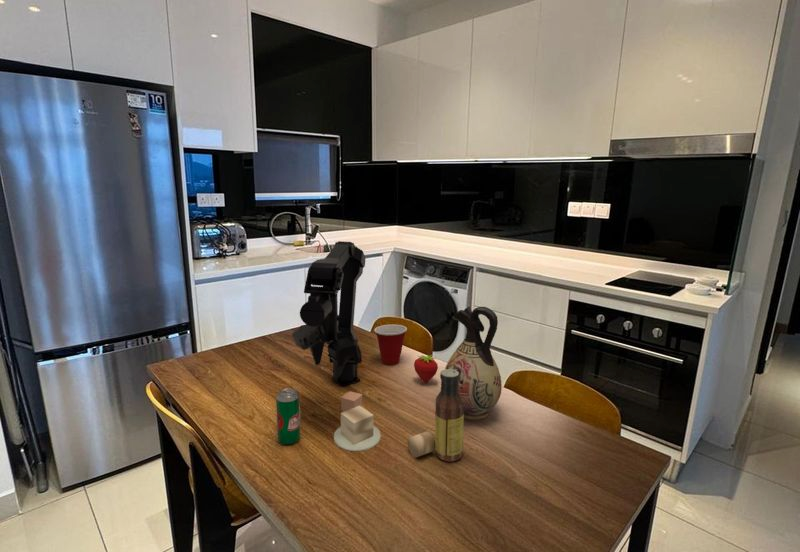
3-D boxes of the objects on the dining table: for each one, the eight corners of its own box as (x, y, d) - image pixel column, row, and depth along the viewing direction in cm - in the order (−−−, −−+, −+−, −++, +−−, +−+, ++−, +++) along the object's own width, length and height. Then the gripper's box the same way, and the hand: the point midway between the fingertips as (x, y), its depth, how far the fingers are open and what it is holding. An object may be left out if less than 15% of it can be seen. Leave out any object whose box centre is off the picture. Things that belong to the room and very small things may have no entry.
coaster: (362, 418, 109) (362, 417, 108) (389, 439, 100) (389, 437, 100) (325, 434, 102) (325, 432, 101) (351, 457, 93) (351, 455, 93)
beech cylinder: (409, 455, 96) (426, 449, 98) (419, 459, 92) (436, 452, 94) (406, 435, 96) (422, 430, 99) (416, 438, 93) (433, 432, 95)
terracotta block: (349, 404, 116) (349, 390, 115) (362, 407, 114) (362, 394, 113) (341, 411, 112) (341, 397, 111) (354, 415, 110) (354, 401, 109)
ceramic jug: (428, 411, 113) (433, 303, 106) (462, 391, 124) (468, 292, 117) (484, 438, 102) (493, 319, 95) (515, 413, 113) (525, 305, 106)
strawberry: (418, 375, 133) (419, 345, 131) (440, 381, 130) (442, 351, 127) (409, 383, 128) (410, 352, 126) (432, 389, 125) (433, 357, 122)
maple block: (359, 425, 105) (359, 405, 103) (373, 436, 101) (373, 415, 99) (340, 433, 101) (340, 413, 100) (354, 444, 97) (354, 423, 96)
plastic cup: (388, 352, 150) (388, 320, 147) (412, 361, 144) (413, 327, 141) (367, 362, 142) (367, 328, 139) (392, 371, 135) (392, 336, 133)
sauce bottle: (464, 449, 97) (470, 369, 93) (459, 466, 92) (464, 381, 87) (436, 443, 99) (440, 364, 95) (429, 459, 94) (433, 376, 89)
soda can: (292, 448, 96) (290, 400, 93) (273, 443, 98) (271, 395, 95) (304, 436, 101) (303, 389, 98) (286, 431, 102) (284, 385, 100)
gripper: (278, 309, 106) (280, 366, 110) (317, 330, 93) (318, 395, 97) (317, 301, 114) (318, 355, 117) (358, 319, 100) (358, 380, 104)
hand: (327, 370), depth 108 cm, fingers open, 9 cm apart
